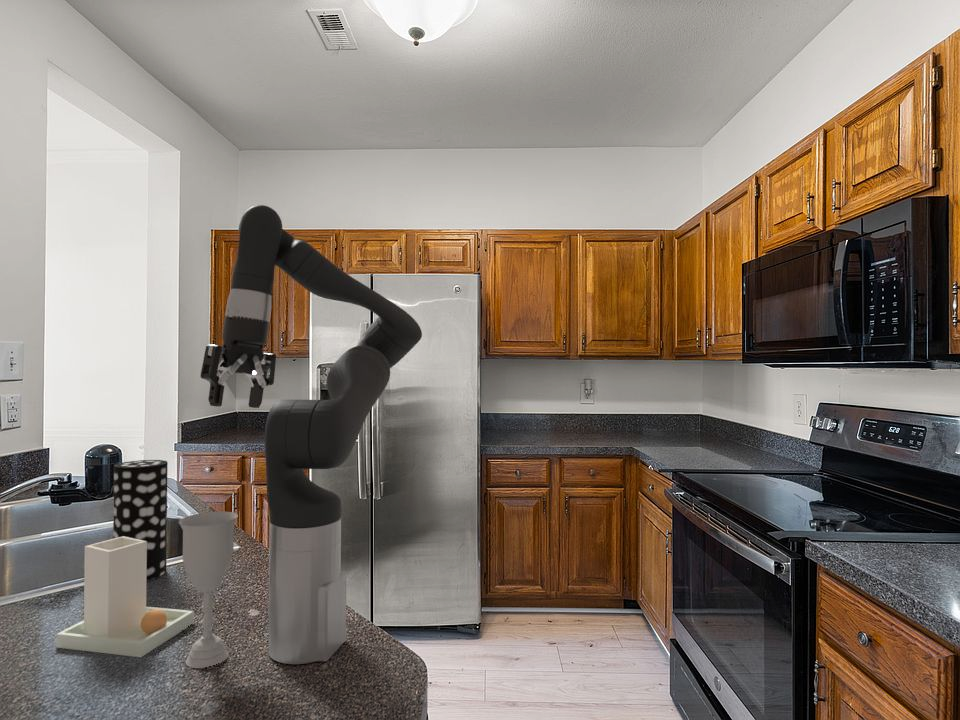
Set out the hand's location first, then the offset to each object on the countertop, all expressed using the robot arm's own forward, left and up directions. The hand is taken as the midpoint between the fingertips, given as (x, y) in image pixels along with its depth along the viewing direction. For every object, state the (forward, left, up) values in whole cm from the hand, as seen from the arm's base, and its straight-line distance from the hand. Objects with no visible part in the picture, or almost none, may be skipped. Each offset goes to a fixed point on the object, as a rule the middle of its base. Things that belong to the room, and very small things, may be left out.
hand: (235, 406), depth 105 cm
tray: (+1, +23, -30) cm, 38 cm away
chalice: (-14, +27, -31) cm, 43 cm away
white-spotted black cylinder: (+17, +3, -31) cm, 35 cm away
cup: (+3, +23, -30) cm, 38 cm away
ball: (-3, +23, -28) cm, 37 cm away
